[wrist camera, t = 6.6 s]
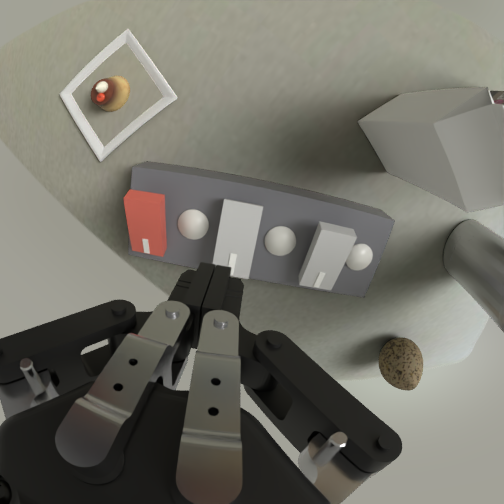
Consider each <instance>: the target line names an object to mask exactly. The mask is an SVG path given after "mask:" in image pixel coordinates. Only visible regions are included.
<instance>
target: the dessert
mask: <svg viewBox="0 0 504 504" xmlns="http://www.w3.org/2000/svg"><path fill="white" fill-rule="evenodd" d="M124 43H127V44H128V46H129V47H130V49H131V50H132V51H133V53H134V54H135V56H136V57H137V59H138V60H139V61H140V63H141V64H142V66H143V67H144V69H145V70H146V71H147V73H148V74H149V76H150V77H151V79H152V80H153V81H154V83H155V84H156V86H157V87H158V89H159V90H160V92H161V93H162V94H163V98H162V99H160V100H159V101H158V102H156V103H155V104H154V105H152V106H151V107H150V108H149V109H147V110H146V111H145V112H144V113H143V114H141V115H140V116H139V117H138V118H136V119H135V120H134V121H133V122H132V123H131V124H129V125H128V126H127V127H126V128H125V129H124V130H123V131H121V132H120V133H119V134H118V135H117V136H116V137H115V138H114V139H113V140H112V141H110V142H109V143H108V144H107V145H106V146H105V147H104V146H103V145H102V143H101V142H100V140H99V138H98V137H97V135H96V134H95V132H94V131H93V129H92V127H91V126H90V124H89V123H88V121H87V120H86V118H85V116H84V115H83V113H82V111H81V110H80V108H79V106H78V105H77V103H76V101H75V100H74V98H73V96H72V92H73V91H74V90H75V89H76V88H77V87H78V86H79V85H80V84H81V83H82V82H83V81H84V80H85V79H86V78H87V77H88V76H89V75H90V74H91V73H92V72H93V71H94V70H95V69H96V68H97V67H98V66H99V65H100V64H101V63H102V62H103V61H105V60H106V59H107V58H108V57H109V56H110V55H111V54H113V53H114V52H115V51H116V50H117V49H118V48H120V47H121V46H122V45H123V44H124ZM129 93H130V87H129V83H128V81H127V80H126V79H125V78H124V77H122V76H112V77H109V78H105V79H102V80H99V81H98V82H97V83H96V84H95V85H94V86H93V88H92V91H91V99H92V101H93V102H94V103H95V104H96V105H98V106H99V107H101V108H102V109H103V110H105V111H108V112H112V111H116V110H118V109H120V108H121V107H122V106H123V105H124V104H125V103H126V101H127V99H128V97H129ZM59 95H60V97H61V99H62V100H63V102H64V104H65V106H66V107H67V109H68V111H69V112H70V114H71V116H72V118H73V119H74V121H75V123H76V124H77V126H78V128H79V129H80V131H81V133H82V134H83V136H84V137H85V139H86V141H87V142H88V144H89V145H90V147H91V149H92V150H93V152H94V153H95V155H96V156H97V158H98V159H99V161H100V162H102V161H103V160H104V159H105V158H106V157H107V156H108V155H109V154H110V153H111V152H112V151H113V150H114V149H115V148H117V147H118V146H119V145H120V144H121V143H122V142H123V141H124V140H126V139H127V138H128V137H129V136H130V135H131V134H132V133H134V132H135V131H136V130H137V129H138V128H140V127H141V126H142V125H143V124H144V123H146V122H147V121H148V120H149V119H151V118H152V117H153V116H155V115H156V114H157V113H158V112H160V111H161V110H162V109H164V108H165V107H166V106H168V105H169V104H170V103H172V102H173V101H175V100H176V99H177V96H176V94H175V93H174V91H173V90H172V88H171V87H170V86H169V84H168V83H167V81H166V80H165V78H164V77H163V76H162V74H161V73H160V71H159V70H158V69H157V67H156V66H155V64H154V63H153V62H152V60H151V59H150V57H149V56H148V55H147V53H146V52H145V51H144V49H143V48H142V46H141V45H140V44H139V42H138V41H137V40H136V38H135V37H134V35H133V34H132V33H131V31H130V30H129V29H127V30H125V31H124V32H123V33H122V34H120V35H119V36H118V37H117V38H116V39H114V40H113V41H112V42H111V43H110V44H109V45H107V46H106V47H105V48H104V49H103V50H102V51H101V52H100V53H98V54H97V55H96V56H95V57H94V58H93V59H92V60H91V61H90V62H89V63H88V64H87V65H86V66H85V67H84V68H83V69H82V70H81V71H80V72H79V73H78V74H77V75H76V76H75V77H74V78H73V79H72V80H71V81H70V82H69V84H68V85H67V86H66V87H65V88H64V89H63V90H62V91H61V93H60V94H59Z"/></svg>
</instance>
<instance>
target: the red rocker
mask: <svg viewBox="0 0 504 504" xmlns="http://www.w3.org/2000/svg"><path fill="white" fill-rule="evenodd" d="M124 205H125V212H126V218H127V224H128V230H129V236H130V241H131V247H132V251H137V252H142V253H147V254H152V255H156V256H161V257H163V256H164V254H165V251H166V249H167V239H166V218H165V195H163V194H157V193H151V192H144V191H137V190H131V189H130V190H129V191H128V192H127V194H126V195H125V197H124Z"/></svg>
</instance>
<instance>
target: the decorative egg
mask: <svg viewBox="0 0 504 504" xmlns="http://www.w3.org/2000/svg"><path fill="white" fill-rule="evenodd" d="M379 369H380V371H381V374H382V376H383V377H384V379H385V380H386V381H387V382H388V383H389V384H391V385H392V386H394V387H396V388H398V389H402V390H413V389H414V388H415V387H416V386H417V385H418V383H419V381H420V379H421V376H422V372H423V358H422V354H421V351H420V349H419V348H418V346H417V345H416V344H415V343H414V342H413V341H411V340H409V339H407V338H395V339H392V340H390V341H389V342H387V343H386V344H385V345H384V347H383V348H382V350H381V352H380V355H379Z"/></svg>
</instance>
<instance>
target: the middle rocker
mask: <svg viewBox="0 0 504 504" xmlns="http://www.w3.org/2000/svg"><path fill="white" fill-rule="evenodd" d="M262 211H263V206H262V205H257V204H252V203H247V202H241V201H236V200H231V199H224V203H223V208H222V214H221V219H220V224H219V230H218V236H217V241H216V247H215V253H214V259H213V264H216V265H222V266H227V267H231V274H230V276H233V277H239V278H244V279H249V274H250V269H251V264H252V259H253V255H254V250H255V245H256V240H257V235H258V230H259V226H260V221H261V216H262Z"/></svg>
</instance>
